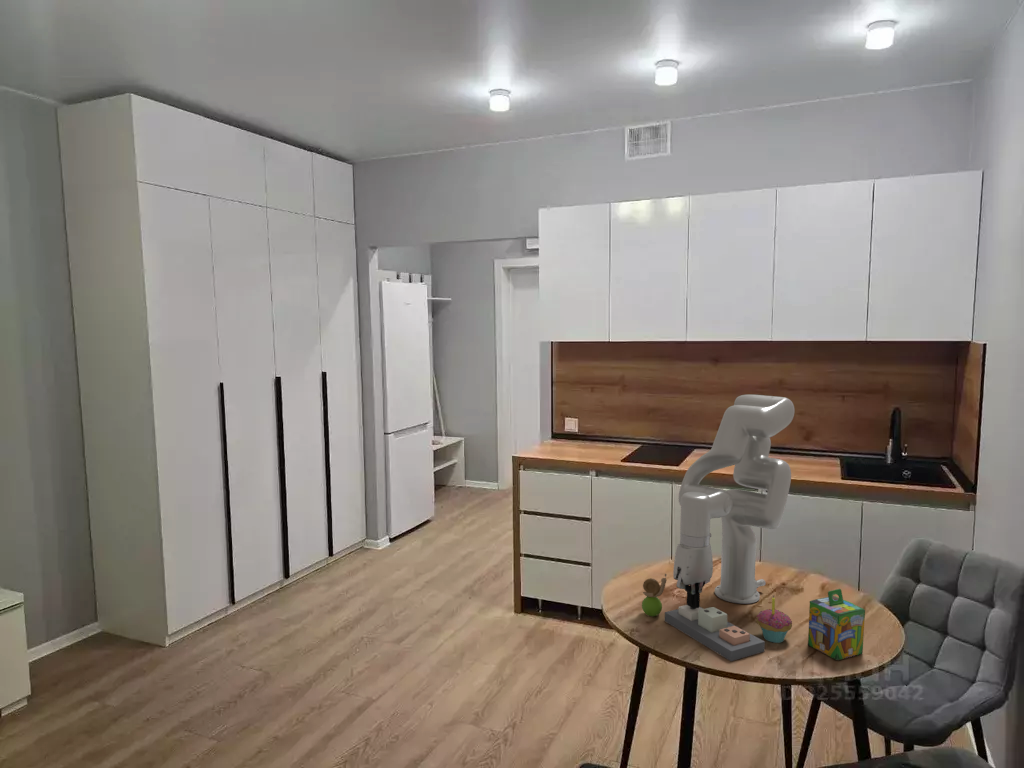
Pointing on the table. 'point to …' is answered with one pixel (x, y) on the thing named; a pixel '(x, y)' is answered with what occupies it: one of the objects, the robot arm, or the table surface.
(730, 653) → the button board
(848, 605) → the chalk box
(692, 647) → the table surface
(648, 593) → the snail figurine
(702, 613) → the two pip tile
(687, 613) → the one pip tile
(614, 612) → the table surface
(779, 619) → the cupcake
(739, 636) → the pink dice cube
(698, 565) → the robot arm
